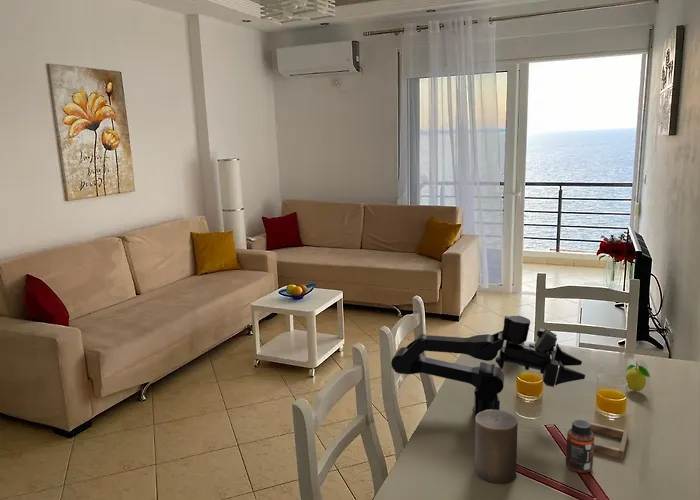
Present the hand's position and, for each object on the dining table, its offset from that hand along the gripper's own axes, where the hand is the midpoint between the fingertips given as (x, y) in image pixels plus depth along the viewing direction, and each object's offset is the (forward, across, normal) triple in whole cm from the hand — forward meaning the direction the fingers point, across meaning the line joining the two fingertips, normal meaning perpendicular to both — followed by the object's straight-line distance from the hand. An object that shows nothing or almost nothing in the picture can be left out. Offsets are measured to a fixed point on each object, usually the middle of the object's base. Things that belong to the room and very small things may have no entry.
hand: (583, 369), depth 145 cm
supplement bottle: (+1, -20, +17) cm, 26 cm away
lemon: (+20, +25, +14) cm, 35 cm away
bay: (+7, -8, +15) cm, 19 cm away
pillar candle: (-18, -28, +20) cm, 38 cm away
